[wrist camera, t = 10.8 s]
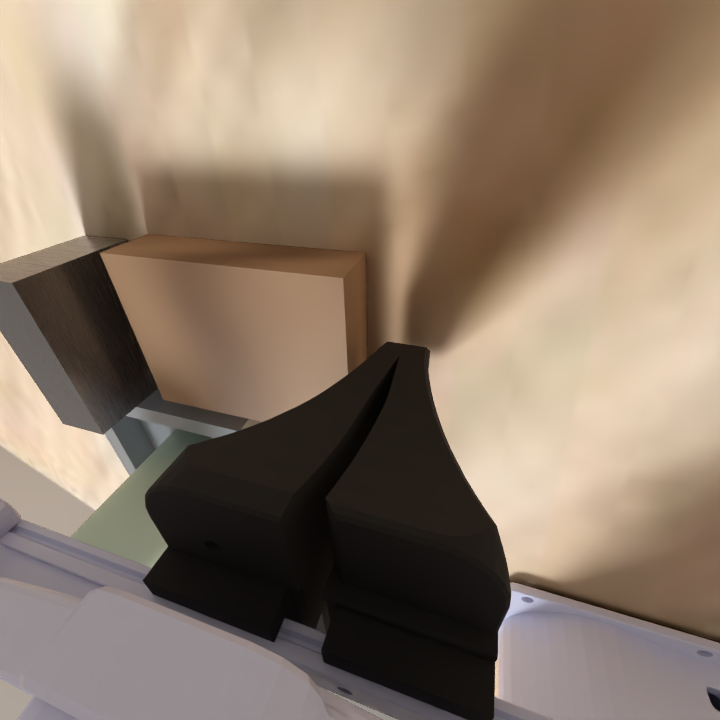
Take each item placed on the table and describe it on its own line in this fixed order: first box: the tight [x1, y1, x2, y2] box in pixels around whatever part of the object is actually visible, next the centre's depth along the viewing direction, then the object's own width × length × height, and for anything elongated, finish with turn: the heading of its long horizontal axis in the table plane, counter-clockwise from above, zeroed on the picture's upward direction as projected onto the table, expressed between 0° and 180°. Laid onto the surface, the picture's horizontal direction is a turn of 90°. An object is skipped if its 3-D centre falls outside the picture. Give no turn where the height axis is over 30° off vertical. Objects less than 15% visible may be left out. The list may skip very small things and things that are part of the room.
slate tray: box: [105, 389, 261, 476], centre depth 19 cm, size 8×8×2 cm
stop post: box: [0, 236, 158, 434], centre depth 14 cm, size 2×6×4 cm, turn 2°
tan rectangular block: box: [100, 234, 367, 422], centre depth 13 cm, size 8×6×2 cm
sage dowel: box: [70, 429, 212, 568], centre depth 17 cm, size 4×4×6 cm
